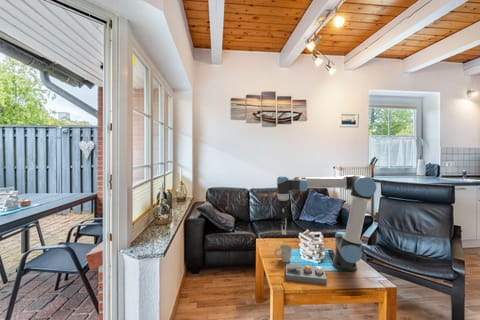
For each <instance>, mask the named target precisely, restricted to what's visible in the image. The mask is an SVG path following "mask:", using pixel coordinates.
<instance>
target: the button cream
mask: <svg viewBox="0 0 480 320" xmlns="http://www.w3.org/2000/svg"><path fill="white" fill-rule="evenodd" d="M315 267H316V274H319V275H322V274H323V268H324V267H322V266H320V265H316V266H315Z"/></svg>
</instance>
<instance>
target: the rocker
mask: <svg viewBox="0 0 480 320" xmlns="http://www.w3.org/2000/svg"><path fill="white" fill-rule="evenodd" d="M301 266H302V263H301V262H297V263H288V269H289V270H292V269H301Z"/></svg>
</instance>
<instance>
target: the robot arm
mask: <svg viewBox="0 0 480 320" xmlns="http://www.w3.org/2000/svg"><path fill="white" fill-rule="evenodd" d="M276 181H277V182H276V189H277V192H276V193H277V194H276V196H277V205H278V206H279V207H280V216H281V222H280V225H281V235H287V219H288V216H287V211H288V210H287V207H288V206H290V192H291V191H292V192H295V191H296V192H306V191H307V190H308V189H344V190H345V191H346V190H347V191H350V196H351V198H352V199H351V200H352V201H351V204H350V210H349V214H348V219H347V223H346V228H345V231H336V232H335V236H334V237H335V245H334V246H335V250H334V251H335V252H334V256H333V259H332V266H333V267H334V268H336V269H338V270H342V271H345V272H353V271H356V270H357V269H358V266H357V262H360V261H361V260H362V257H363V252H362V244H363V241H362V240H361V235H362V231H363V225H364V221H365V216H366V213H367V212H366V211H367V207H368V203H369V201H371V200H372V199H373V195H374V194H375V193H376V191H377V183H376V182H375V180H374V179H373V178H371V177H369V176H367V175H363V174H352V175H343V176H336V177H335V176H331V177H330V176H323V177H321V176H320V177H319V176H317V177H316V176H315V177H313V176H311V177H309V176H308V177H305V176H304V177H300V176H296V177H294V178H293V179H290V178H289V177H288V176H286V175H285V176H283V175H282V176H278V177H277V179H276Z"/></svg>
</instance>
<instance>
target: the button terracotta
mask: <svg viewBox="0 0 480 320" xmlns="http://www.w3.org/2000/svg"><path fill="white" fill-rule="evenodd" d="M303 266H304V272H305V273H311V267H312V266H311V265H308V264H305V265H303Z"/></svg>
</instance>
